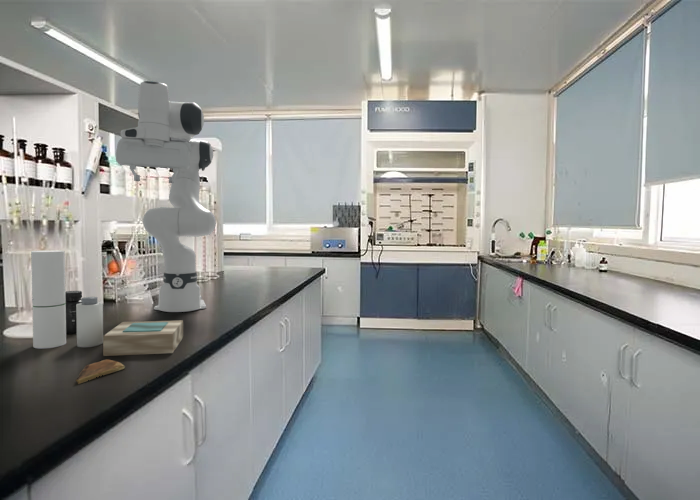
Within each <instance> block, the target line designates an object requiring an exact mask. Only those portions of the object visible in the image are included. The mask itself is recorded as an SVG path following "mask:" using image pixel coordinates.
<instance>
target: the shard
mask: <svg viewBox="0 0 700 500" xmlns="http://www.w3.org/2000/svg"><path fill="white" fill-rule="evenodd" d="M125 367H126V366H125V365H124V364H123V363H121V362H120V361H117V360H111V359H109V358H108V359H107V358H106V359H103V360H101V361H97V362H93V363H90V364H86V365H85V366H84V368H82V370H81V371H80V373H79V375H78V376H77V378H76V379H75V381H76V382H77V384H78V385H81V384H83V383H85V382H88V380H89V381H92V380H95V379H97V378H100V377H102V375H103V376H105V375H109V374H112V373H115V372H119V371H122V370H124V369H125ZM99 376H100V377H99ZM96 377H97V378H96Z"/></svg>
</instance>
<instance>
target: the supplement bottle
mask: <svg viewBox="0 0 700 500" xmlns="http://www.w3.org/2000/svg"><path fill="white" fill-rule="evenodd" d="M65 298H66V335H74V334H77V318H76V304H79V303H82V298H83V291H82V290H67V291H66V290H65Z"/></svg>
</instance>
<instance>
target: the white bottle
mask: <svg viewBox="0 0 700 500" xmlns="http://www.w3.org/2000/svg"><path fill="white" fill-rule="evenodd" d="M81 299H82V303H79V304H76V318H77V333H76V346H77V348H93V347H98V346H101V345H103V336H104V311H103V310H104V308H103V307H104V302H101V301H99V300H98V297H97V296H86V297H82V298H81Z"/></svg>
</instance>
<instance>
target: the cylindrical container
mask: <svg viewBox="0 0 700 500" xmlns="http://www.w3.org/2000/svg"><path fill="white" fill-rule="evenodd" d="M30 255H31V257H30V260H31V303H32V304H31V305H32V307H31V309H32V345H33V346H32V347H33V348H35V349H42V350H43V349H53V348H57V347H61V346H64V345H66V344H67V334H66V298H65V292H66V257H65V256H66V253H65V250H61V249H60V250H59V249H56V250H55V249H52V250H32V251H30Z"/></svg>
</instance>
